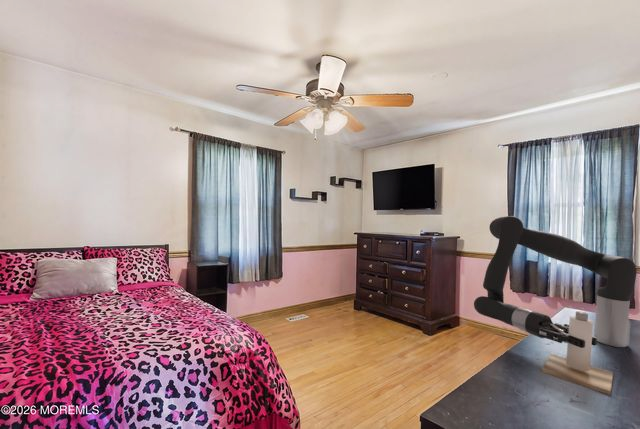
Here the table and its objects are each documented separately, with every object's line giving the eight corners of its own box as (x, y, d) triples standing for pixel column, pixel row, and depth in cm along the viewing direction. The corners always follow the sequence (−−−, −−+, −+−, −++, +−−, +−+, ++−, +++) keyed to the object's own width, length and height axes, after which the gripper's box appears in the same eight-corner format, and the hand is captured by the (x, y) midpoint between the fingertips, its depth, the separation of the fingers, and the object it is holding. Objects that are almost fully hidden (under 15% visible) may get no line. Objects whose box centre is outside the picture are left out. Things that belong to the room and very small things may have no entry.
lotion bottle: (578, 362, 96) (582, 310, 96) (594, 371, 91) (599, 316, 91) (561, 361, 96) (565, 309, 96) (576, 370, 91) (581, 315, 90)
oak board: (550, 356, 104) (551, 353, 104) (612, 375, 93) (613, 372, 93) (541, 371, 93) (542, 368, 93) (610, 395, 83) (610, 391, 83)
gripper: (517, 312, 103) (576, 333, 88) (545, 309, 109) (605, 328, 94) (516, 335, 104) (574, 359, 88) (543, 330, 109) (603, 353, 94)
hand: (590, 343), depth 91 cm, fingers closed on lotion bottle, 5 cm apart
